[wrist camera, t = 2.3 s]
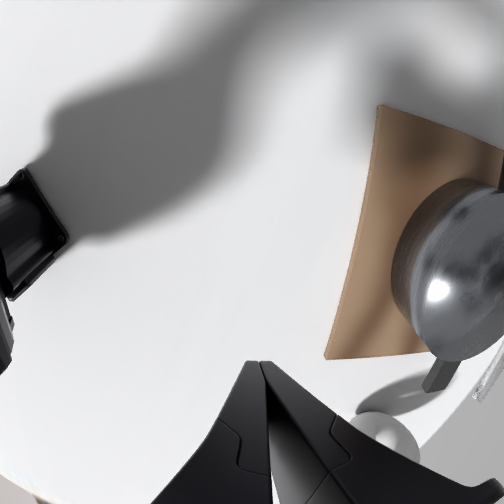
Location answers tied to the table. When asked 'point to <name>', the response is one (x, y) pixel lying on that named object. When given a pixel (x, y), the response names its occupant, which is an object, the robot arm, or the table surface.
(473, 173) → the walnut trivet
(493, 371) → the cooker lid
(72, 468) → the table surface
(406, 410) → the table surface
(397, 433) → the donut
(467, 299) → the cooking pot
